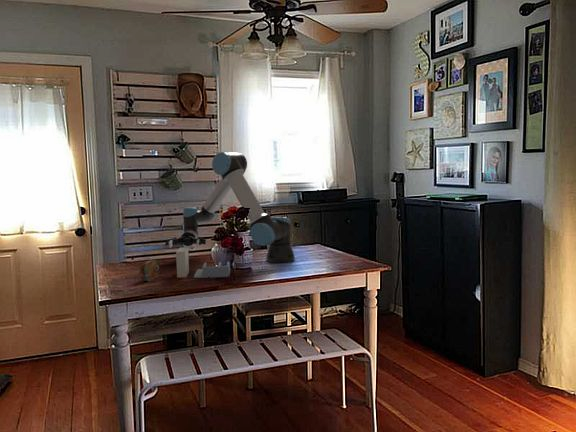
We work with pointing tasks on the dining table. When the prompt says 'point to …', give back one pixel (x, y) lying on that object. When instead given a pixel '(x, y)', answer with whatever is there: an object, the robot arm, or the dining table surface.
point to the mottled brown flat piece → (149, 270)
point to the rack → (213, 271)
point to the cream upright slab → (182, 262)
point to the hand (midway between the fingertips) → (183, 244)
